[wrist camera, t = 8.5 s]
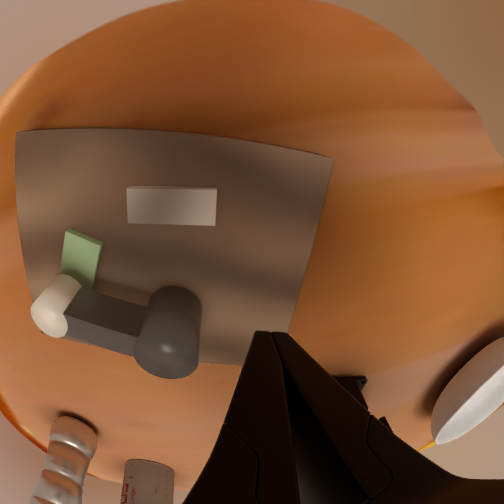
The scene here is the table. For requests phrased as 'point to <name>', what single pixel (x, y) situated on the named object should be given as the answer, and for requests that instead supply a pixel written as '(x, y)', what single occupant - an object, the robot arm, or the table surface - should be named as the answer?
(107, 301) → the peg
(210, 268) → the board
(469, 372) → the serving bowl
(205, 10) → the table surface
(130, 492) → the thermos bottle
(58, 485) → the plastic bottle
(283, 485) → the robot arm
